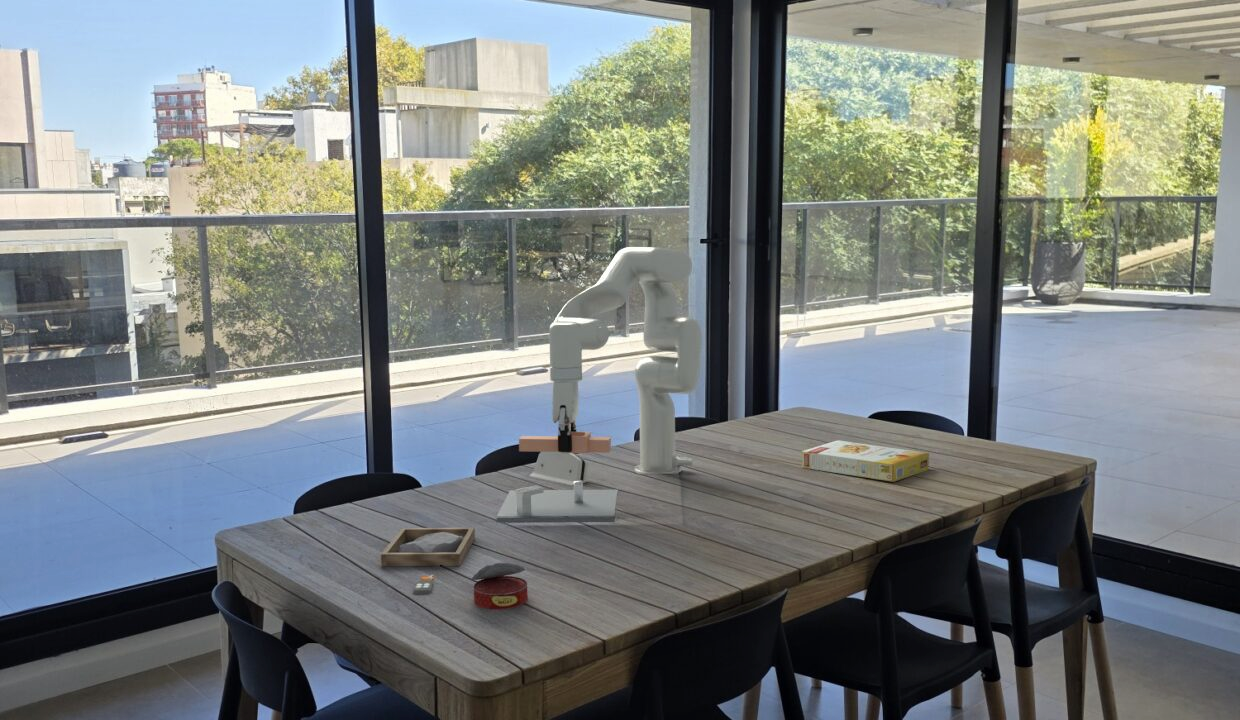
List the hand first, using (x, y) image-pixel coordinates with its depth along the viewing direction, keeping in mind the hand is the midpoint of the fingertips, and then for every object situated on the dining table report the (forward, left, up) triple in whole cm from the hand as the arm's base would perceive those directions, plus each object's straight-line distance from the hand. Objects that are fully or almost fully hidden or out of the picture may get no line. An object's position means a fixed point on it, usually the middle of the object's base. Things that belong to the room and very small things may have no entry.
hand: (567, 448), depth 256 cm
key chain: (+23, +51, -15) cm, 58 cm away
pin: (-2, 0, -15) cm, 15 cm away
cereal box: (-77, -37, -15) cm, 87 cm away
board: (+2, +1, -15) cm, 15 cm away
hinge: (+4, -23, -15) cm, 28 cm away
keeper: (+8, +9, -15) cm, 19 cm away
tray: (+27, +33, -15) cm, 45 cm away
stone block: (+26, +34, -15) cm, 46 cm away
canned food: (+8, +61, -15) cm, 63 cm away
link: (+1, 0, -1) cm, 1 cm away
